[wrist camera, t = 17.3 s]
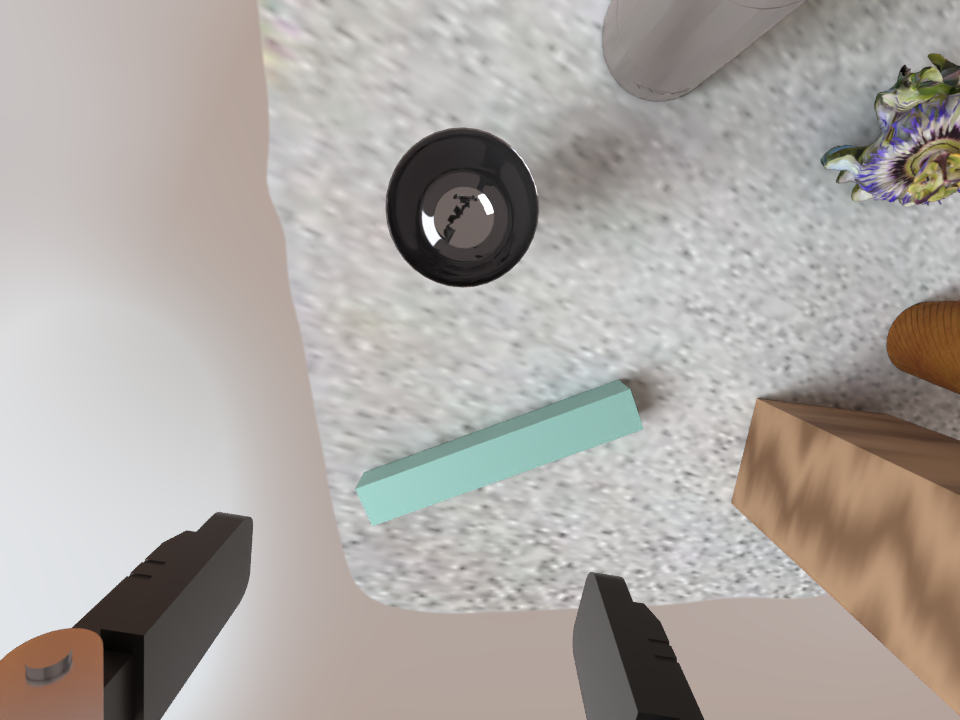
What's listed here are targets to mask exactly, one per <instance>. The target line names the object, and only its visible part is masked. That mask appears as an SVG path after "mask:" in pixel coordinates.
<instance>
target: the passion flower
mask: <svg viewBox="0 0 960 720" xmlns="http://www.w3.org/2000/svg"><path fill="white" fill-rule="evenodd" d="M928 58H929V59H930V61H931V62H932V63H933V64H934V65H935V66H936V67H937V68H934V67H925V68H923V69H922V70H921V71H920V72H917V73H910V70H911V69H908V68H907V67H906V65H904V66H903V67H902V68H901V70H900V72H899V76H898V80H897V82H896V83H895V85H894V86H893V87H892V88H891V89H889V90H888V91H885V92H880V93H878V95H877V97H876V100H875V104H874V109H875V110H876V115H877V120H878V124H879V126H880V129H881V133H880V137H879V138H878V139H877V140H876V141H875V142H874V143H873V144H872V145H869V146H864V147H853V146H851V145H844V146H837V147H834V148H831V149H830V150H829V151H828V152H826V153H825V154H824V156H823V157H822V158H821V163H822V165H823V166H824V168H826V169H836V170H841V172H840V173H839V175H838V177H837V180H836V183H845V182H849V181H853V182H856V186H855V187H854V189H853V190H852V195H851V198H852V200H854V201H864V200H868V199H871V198H873V199H874V200H889V202H894V201H895V200H896V199H899V202H900V203H901V204H902V206H905V207H910V206H912V205H914V204H923V205H924V204H926V203H927V205H929V204H928V203H929V202H931V201H932V202H933V201H937V200H938V202H939V204H941V202H940V200H941V199H944V197H947V196H949V195H950V194H953V193H954V192H959V193H960V84H959V85H958V81H959V75H960V66H957V65H955V64H953V63H951V62H950V61H948V60H947V59H944V57H942V56H941V55H940V54H935V53H932V54H929V55H928ZM926 78H928V80H930V81H927V82H922V83H920V82H921V81H922V80H924V79H926ZM907 80H908V81H910V82H911V83H908V81H907ZM938 82H944V83H939V84H936V85H933V84H935V83H938ZM931 85H932V86H931Z"/></svg>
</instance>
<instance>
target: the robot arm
mask: <svg viewBox="0 0 960 720" xmlns="http://www.w3.org/2000/svg"><path fill="white" fill-rule="evenodd" d="M805 1H807V0H612V2H611V4H610V6H609V8H608V11H607V14H606V16H605V19H604V25H603V31H602V48H603V52H604V57H605V61H606V63H607V66H608V68H609V70H610V72H611V74H612V75H613V77H614V78H615V80H616V81H617V82H618V84H619V85H621V86H622V87H623V88H624V89H625V90H626V91H627V92H629V93H631V94H633V95H634V96H636V97H638V98H641V99H645V100H649V101H667V100H672V99H676V98H679V97H681V96H683V95H685V94H688V93H689V92H690V91H692V90H693V89H694V88H696V87H697V86H699V85H700V84H701V83H702V82H704V81H705V80H706V79H707V78H709V77H710V76H711V75H713V74H714V73H715V72H717V71H718V70H719V69H721V68H722V67H723V66H724V65H726V64H727V63H728V62H729V61H731V60H732V59H733V58H734V57H736V56H737V55H738V54H739V53H741V52H742V51H743V50H745V49H746V48H747V47H748V46H750V45H751V44H752V43H753V42H755V41H756V40H757V39H758V38H760V37H761V36H762V35H764V34H765V33H766V32H767V31H769V30H770V29H771V28H772V27H774V26H775V25H776V24H777V23H779V22H780V21H781V20H783V19H784V18H785V17H786V16H788V15H789V14H790V13H791V12H793V11H794V10H795V9H796V8H798V7H799V6H800V5H802V4H803V3H804V2H805ZM252 533H253V521H252V518H251V517H247V516H240V515H234V514H228V513H222V512H217V513H215V514H214V515H213V516H212V517H211V518H210V519H209V520H208V521H207V522H206V523H205V524H204V525H203V526H202V527H201V528H200V529H199V530H198V531H197V532H192V531H185V532H183V533H181V534H179V535H177V536H175V537H173V538H171V539H169V540H167V541H165V542H163V543H162V544H161V545H160V546H159V547H158V548H157V549H156V550H154V551H153V552H152V553H151V554H150V555H149V556H148V557H147V558H146V559H145V562H144V563H143V562H142V563H141V564H139V565H138V566H137V567H136V568H135V569H134V570H133V571H132V572H131V574H130V576H129V577H128V576H127V577H126V578H125V579H124V580H123V581H121V582H120V583H119V584H118V585H117V586H116V587H115V588H114V589H113V590H112V591H111V592H110V593H109V594H108V595H107V596H105V597H104V598H103V599H102V600H101V601H100V602H99V603H98V604H97V605H96V606H95V607H94V608H93V609H92V610H90V611H89V612H88V613H87V614H86V615H85V616H84V617H83V618H82V619H81V620H80V621H79V622H78V623H77V624H75V625H74V626H73V627H72V628H69V629H61V630H57V631H52V632H49V633H46V634H43V635H40V636H38V637H35V638H33V639H31V640H29V641H27V642H25V643H23V644H21V645H20V646H18V647H16V648H15V649H14V650H12V651H11V652H9V653H8V654H7V655H6V656H5V657H4V658H3V659H2V660H0V720H160V719H161V718H162V716H163V715H164V713H165V712H166V711H167V709H168V707H169V706H170V704H171V703H172V701H173V700H174V699H175V697H176V696H177V694H178V693H179V691H180V690H181V688H182V687H183V686H184V684H185V683H186V681H187V679H188V678H189V677H190V675H191V674H192V672H193V671H194V669H195V668H196V666H197V665H198V663H199V662H200V660H201V659H202V658H203V656H204V655H205V653H206V651H207V650H208V649H209V647H210V646H211V644H212V643H213V641H214V640H215V638H216V637H217V636H218V634H219V633H220V631H221V629H222V628H223V627H224V625H225V624H226V622H227V621H228V619H229V618H230V616H231V615H232V613H233V612H234V610H235V609H236V607H237V606H238V605H239V603H240V601H241V599H242V597H243V595H244V593H245V590H246V588H247V584H248V581H249V576H250V564H251V549H252V548H251V547H252ZM573 654H574V660H575V665H576V669H577V674H578V679H579V684H580V689H581V694H582V699H583V703H584V708H585V713H586V718H587V720H704V718H703V716H702V714H701V711H700V709H699V707H698V705H697V702H696V700H695V698H694V696H693V693H692V691H691V689H690V687H689V684H688V682H687V680H686V678H685V676H684V674H683V671H682V669H681V667H680V664H679V663H677V658H676V656H675V653H674V651H673V649H672V647H671V646H669V640H668V638H667V636H666V633H665V631H664V629H663V627H662V625H661V622H660V621H659V620H658V619H657V618H656V617H655V615H654V614H653V613H652V612H651V611H650V610H649V609H648V608H647V606H646V605H645V604H643V603H637V602H633V600H632V598H631V595H630V593H629V590H628V588H627V585H626V583H625V581H624V579H623V578H622V577H619V576H613V575H606V574H600V573H594V572H590V573H589V574H588V576H587V579H586V582H585V586H584V590H583V594H582V598H581V602H580V605H579V609H578V613H577V617H576V621H575V625H574V631H573Z"/></svg>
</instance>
